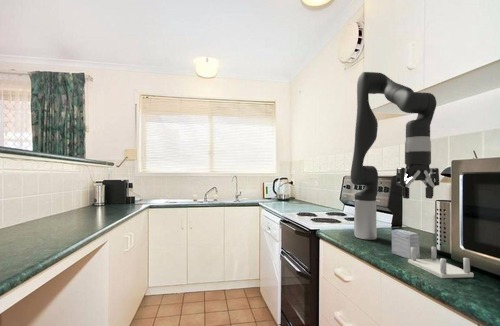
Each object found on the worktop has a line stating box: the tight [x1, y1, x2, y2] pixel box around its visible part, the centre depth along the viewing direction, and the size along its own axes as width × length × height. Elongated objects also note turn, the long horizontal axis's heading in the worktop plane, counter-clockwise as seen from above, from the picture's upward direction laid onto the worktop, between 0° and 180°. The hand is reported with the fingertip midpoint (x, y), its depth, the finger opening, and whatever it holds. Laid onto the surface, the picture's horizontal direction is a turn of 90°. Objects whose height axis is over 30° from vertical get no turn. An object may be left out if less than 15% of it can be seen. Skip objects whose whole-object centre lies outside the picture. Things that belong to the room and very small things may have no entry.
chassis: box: [407, 246, 474, 279], centre depth 79 cm, size 13×10×5 cm
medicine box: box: [390, 228, 421, 260], centre depth 92 cm, size 8×4×9 cm, turn 17°
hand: (417, 198), depth 87 cm, fingers open, 8 cm apart
